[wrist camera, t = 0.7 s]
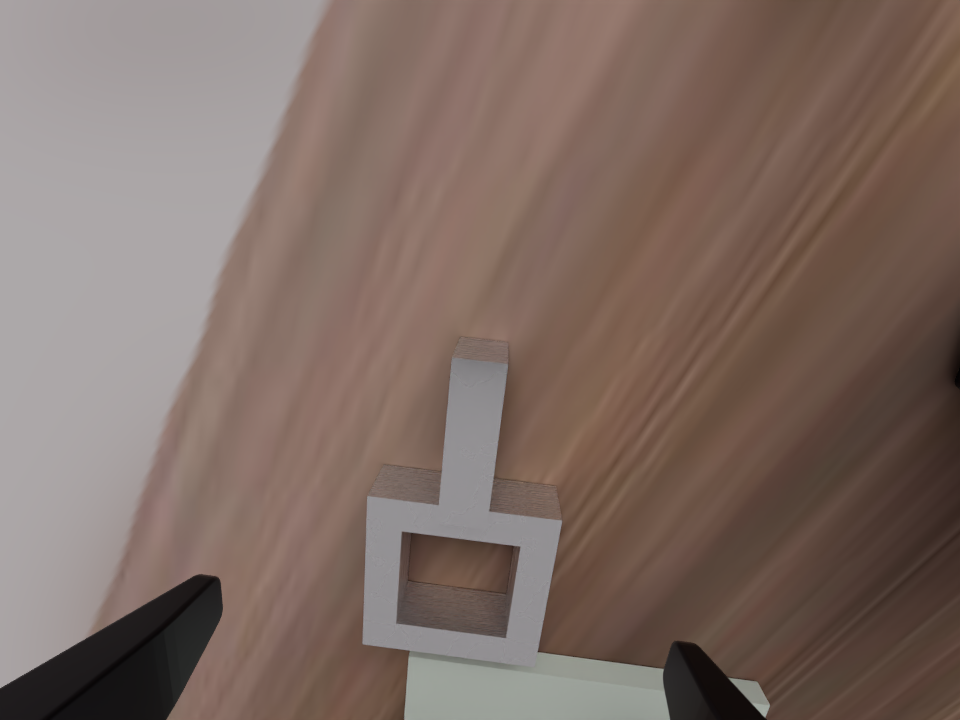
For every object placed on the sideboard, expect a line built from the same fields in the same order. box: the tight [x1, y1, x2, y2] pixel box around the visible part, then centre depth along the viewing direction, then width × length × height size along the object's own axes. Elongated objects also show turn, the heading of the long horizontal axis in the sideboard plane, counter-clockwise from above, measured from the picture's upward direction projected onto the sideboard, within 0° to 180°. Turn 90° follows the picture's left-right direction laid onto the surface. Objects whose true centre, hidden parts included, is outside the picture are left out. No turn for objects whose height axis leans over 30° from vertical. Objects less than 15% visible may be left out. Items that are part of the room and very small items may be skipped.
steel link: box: [363, 337, 562, 667], centre depth 19 cm, size 14×8×3 cm, turn 174°
